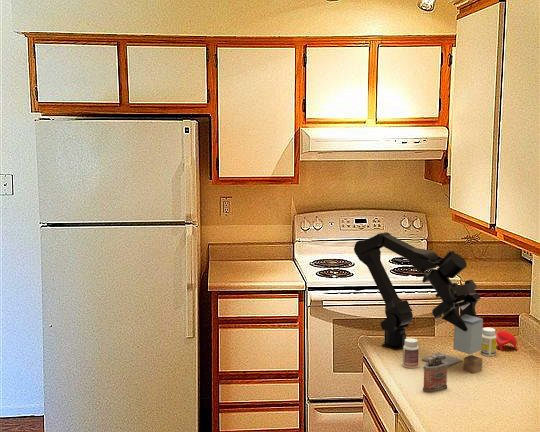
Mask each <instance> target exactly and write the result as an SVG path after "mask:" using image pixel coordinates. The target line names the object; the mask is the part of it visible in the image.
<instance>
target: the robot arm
mask: <svg viewBox="0 0 540 432" xmlns="http://www.w3.org/2000/svg"><path fill="white" fill-rule="evenodd" d="M382 248H385V249H387V250H390V251H391V252H393V253H395V254H396V255H399V256H400V257H402V258H404V259H406V260H407V261H408V262H409V263H410V265H411V266H412V267H413V268H414V269H415V270H417V271H418V272H421V273H422V272H426V271H429V272H428V273H424V274H423V277H422V283H424V284H425V283H428V282H429V283H430V285H431V286H432V287H433V289H434V290H435V292H436V294H434V295H435V298H436V299H437V298H440V300H441V301H442V302H440V303H439V304H438V305H437V306H435V307H434V308H433V309H432V310H431V314H432V317H433V318H434V319H435V320H438V319H440V318H441V320H444V321H446V322H448V323H450V324H452V325H454V326H457V327H458V328H460V329H461V330H463V331H467V330H468V329H467V327H466V325H465V323H464V322H463V320H462V318H461V316H463V315H465V314H467V315H471V316H474V317H477V312H476V304H478V301H480V300H481V296H480V295H479V293H478V292H476V288H477V284H476V283H475V281H473V279H468V280H465V281H464V284H462V285H459V284H458V283H456V282H454V283H453V282H452V280H451V279H455V277H457V276H458V274H460V273H461V272H463V270H464V269H466V268H467V266H468V265H467V262H466V259H465V258H464V257H462V256H461V255H460V254H458V253H456V252H455V251H454V250H450V251H449V252H447V253H446V255H445V256H444V257H442V256H440V255H438V254H437V253H436V252H435V251H432V250H429V249H424V248H418V247H415V246H413V245H411V244H409V243H407V242H405V241H403V240H402V239H399V238H397V237H396V236H393V235H392V234H391V233H390V232H385V231H384V232H379V233H377V234H375V235H374V236H371V237H369V238H366V239H360V240H357V241H356V242H355V244H354V247H353V250H354V254H355V255H356V257H357V258H358V260H359V261H360V262H361V263H362V264H364V265H365V266H367V269H368V271H369V273H370V275H371V277H372V279H373V281H374V282H375V283H374V284H375V285H376V286H377V287H376V288H377V290H378V292H379V294H380V295H381V298H382V300H383V302H384V304H385V305H384V307H385V308H384V314H385V316H386V318H384V320H382V321H381V322H380V326H381V330H384V337H383V338H384V341H383V342H384V343H381V346H382V347H384V348H389V349H393V350H396V351H397V350H400V349H403V346H404V345H405V339H407V333H406V328H409V326H410V323H411V322H412V320H413V315H414V314H413V308H411V306H410V304H409V301H408V300H407V299H405V300H402V299H401V298H400V297H399V295H398V293H397V292H396V290H395V287H394V286H393V283H392V281H391V279H390V278H389V275H388V273H387V271H386V269H385V267H384V265H383V262H382V261H381V256H382V255H381V254H382V253H381V249H382ZM437 267H438V268H437ZM460 309H461V310H460ZM460 314H461V315H460ZM442 315H443V316H442Z"/></svg>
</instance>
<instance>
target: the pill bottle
mask: <svg viewBox="0 0 540 432" xmlns="http://www.w3.org/2000/svg"><path fill="white" fill-rule="evenodd" d="M418 344H419V340H418V339H416V338H412V337H409V338H407V337H406V339H405V345H404V346H403V348H402V350H403V351H402V365H403V367H405V368H407V369H416V368H418V367H419V351H420V350H419V349H420V347H419V345H418Z"/></svg>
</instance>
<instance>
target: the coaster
mask: <svg viewBox="0 0 540 432" xmlns="http://www.w3.org/2000/svg"><path fill="white" fill-rule="evenodd" d="M442 354H444V355H445V356H446V359H445V360H442V361H445V362H447V363H448V366H447V368H449V367H452V366H454V365H456V364H459V363H461V362H463V359H462V358H458V357H454V356H451V355H449V354H445V353H441V352H436V353H433V354H431V355H429V356H428V355H427V356H426V357H423V358H421V361H422V362H426V363H428V362H427V360H428V358H430V357H432V355H435V356H438V355H442Z"/></svg>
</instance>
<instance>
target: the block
mask: <svg viewBox="0 0 540 432" xmlns="http://www.w3.org/2000/svg"><path fill="white" fill-rule="evenodd" d="M462 362H463V364H462V370H463V371H464V372H468V373H471V374H477V373H480V372H481V371H482V370H483V369H482V368H483V358H482V357H479V356H476V355H473V354H469V355H467V356H465V357H463V359H462Z"/></svg>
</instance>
